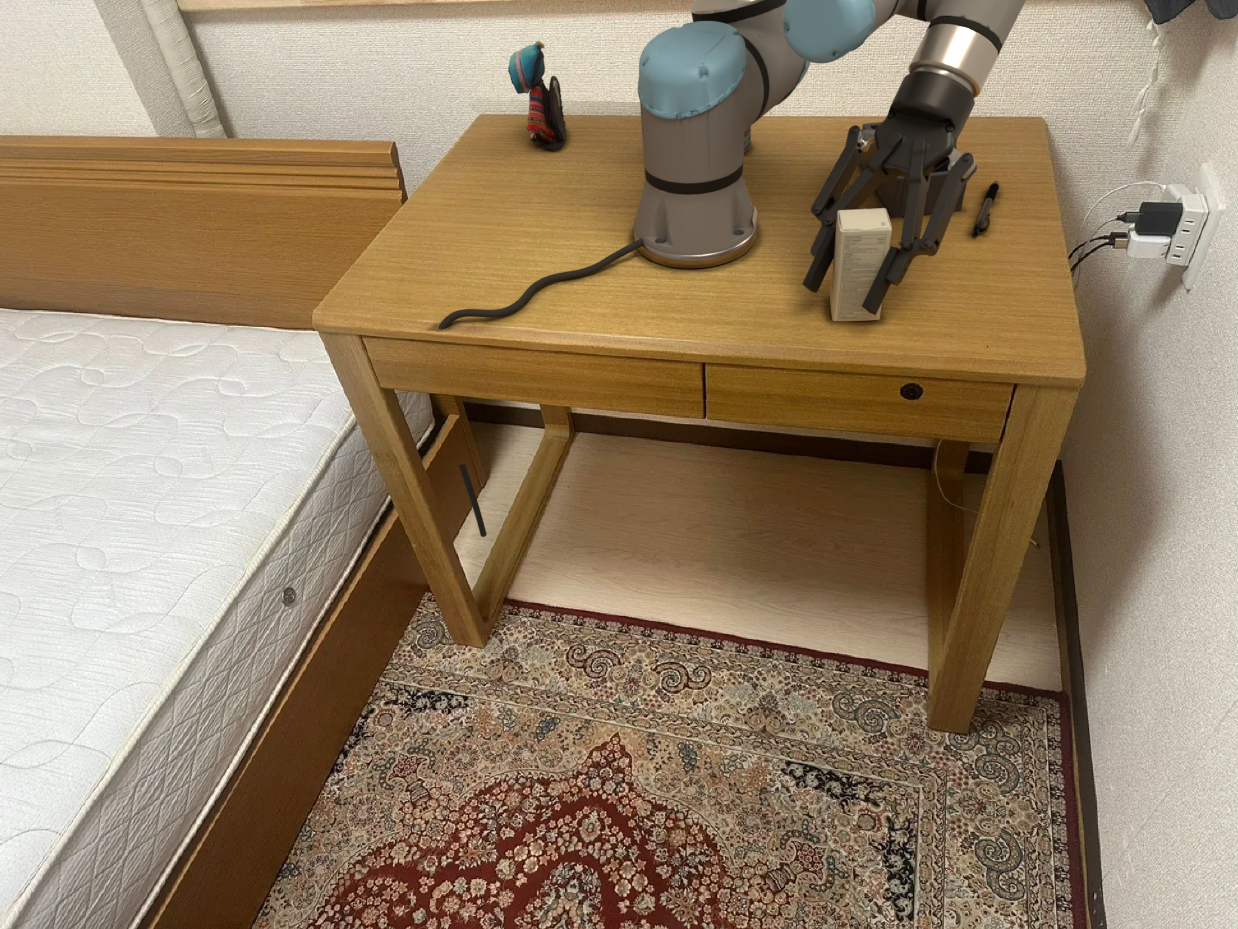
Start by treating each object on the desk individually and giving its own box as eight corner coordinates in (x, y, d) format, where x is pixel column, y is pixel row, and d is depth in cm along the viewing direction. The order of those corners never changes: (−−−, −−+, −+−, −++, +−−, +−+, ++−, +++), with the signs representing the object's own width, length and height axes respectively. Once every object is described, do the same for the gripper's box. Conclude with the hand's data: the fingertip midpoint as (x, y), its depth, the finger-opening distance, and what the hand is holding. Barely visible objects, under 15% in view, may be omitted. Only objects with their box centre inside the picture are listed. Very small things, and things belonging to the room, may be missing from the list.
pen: (984, 240, 101) (986, 231, 100) (969, 237, 101) (971, 229, 101) (1004, 186, 109) (1006, 178, 109) (990, 185, 110) (992, 176, 109)
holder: (892, 217, 106) (898, 178, 103) (858, 160, 118) (862, 123, 115) (961, 210, 106) (969, 171, 103) (920, 153, 118) (926, 116, 114)
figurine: (529, 128, 135) (513, 27, 124) (573, 127, 134) (561, 24, 123) (517, 156, 128) (498, 52, 117) (563, 155, 127) (549, 49, 116)
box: (875, 298, 94) (889, 206, 87) (880, 321, 91) (895, 228, 84) (826, 299, 95) (836, 207, 87) (829, 322, 92) (840, 229, 84)
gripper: (1041, 123, 84) (932, 339, 87) (865, 86, 94) (774, 281, 97) (1032, 86, 77) (915, 321, 81) (845, 50, 88) (748, 260, 91)
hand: (838, 299), depth 89 cm, fingers closed on box, 6 cm apart
